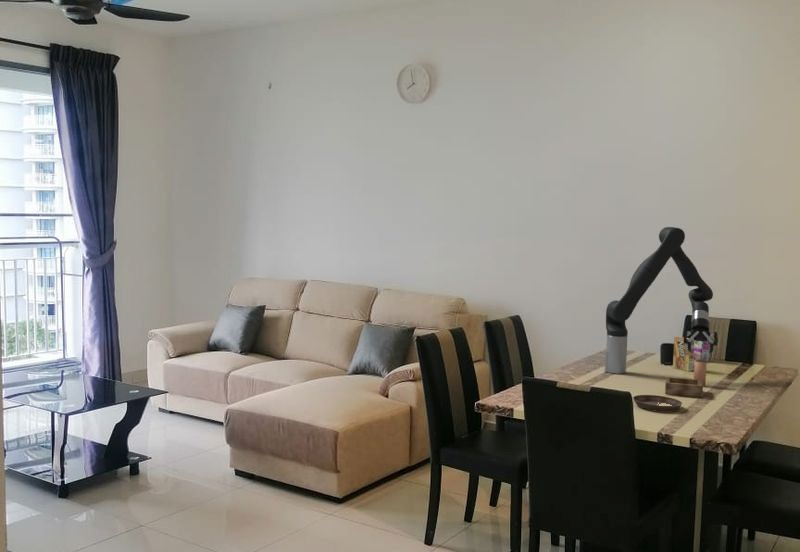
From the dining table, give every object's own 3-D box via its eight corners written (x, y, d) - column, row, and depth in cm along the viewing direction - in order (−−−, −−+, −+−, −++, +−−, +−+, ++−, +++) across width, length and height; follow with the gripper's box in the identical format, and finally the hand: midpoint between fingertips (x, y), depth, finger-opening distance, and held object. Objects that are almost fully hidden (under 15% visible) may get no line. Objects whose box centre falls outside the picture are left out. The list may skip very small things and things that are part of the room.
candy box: (693, 370, 362) (695, 338, 361) (688, 371, 359) (689, 339, 358) (677, 367, 369) (679, 336, 368) (672, 368, 367) (673, 336, 366)
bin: (665, 394, 308) (665, 383, 308) (665, 387, 322) (665, 376, 321) (702, 398, 304) (702, 386, 304) (700, 390, 317) (701, 379, 317)
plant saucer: (678, 404, 293) (678, 396, 293) (684, 415, 276) (685, 407, 276) (630, 400, 297) (631, 393, 297) (634, 411, 280) (634, 403, 280)
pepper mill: (693, 385, 327) (695, 358, 326) (693, 383, 331) (694, 356, 331) (705, 387, 325) (707, 359, 324) (705, 384, 330) (706, 357, 329)
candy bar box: (710, 362, 386) (711, 330, 385) (700, 362, 386) (702, 330, 384) (699, 358, 397) (700, 327, 396) (690, 358, 397) (691, 327, 395)
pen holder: (655, 363, 379) (656, 343, 378) (669, 362, 383) (670, 342, 382) (669, 366, 370) (670, 346, 370) (683, 365, 374) (684, 345, 374)
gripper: (684, 316, 345) (683, 344, 335) (718, 318, 340) (718, 347, 330) (683, 326, 350) (682, 354, 340) (716, 328, 346) (717, 357, 336)
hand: (700, 351), depth 335 cm, fingers open, 8 cm apart
